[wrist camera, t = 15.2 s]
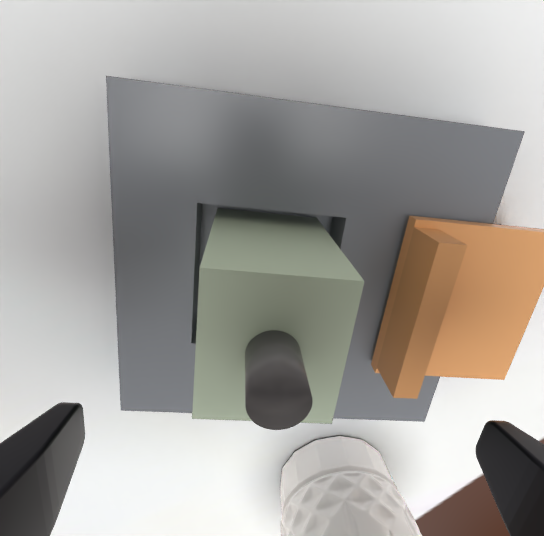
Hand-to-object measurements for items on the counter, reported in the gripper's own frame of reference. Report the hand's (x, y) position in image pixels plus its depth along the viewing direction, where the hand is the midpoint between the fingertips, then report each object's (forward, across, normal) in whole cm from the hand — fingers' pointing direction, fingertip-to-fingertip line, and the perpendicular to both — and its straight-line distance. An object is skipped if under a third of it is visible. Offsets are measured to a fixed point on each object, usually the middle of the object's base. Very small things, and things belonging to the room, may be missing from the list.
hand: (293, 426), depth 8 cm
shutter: (+7, -8, 0) cm, 11 cm away
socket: (+10, -1, 0) cm, 10 cm away
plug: (+10, 0, 0) cm, 10 cm away
